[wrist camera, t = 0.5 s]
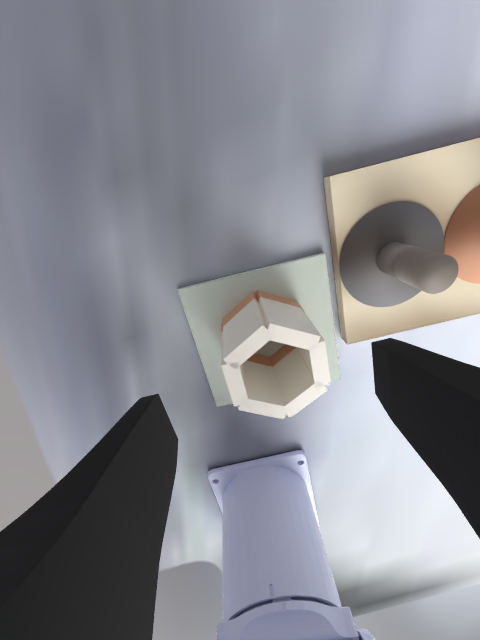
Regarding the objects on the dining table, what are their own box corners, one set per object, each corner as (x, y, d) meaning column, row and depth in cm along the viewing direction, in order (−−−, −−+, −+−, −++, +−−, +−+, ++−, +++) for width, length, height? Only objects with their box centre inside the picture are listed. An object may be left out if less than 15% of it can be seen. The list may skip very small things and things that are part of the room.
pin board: (520, 295, 19) (614, 326, 15) (341, 337, 20) (377, 380, 15) (547, 119, 15) (687, 86, 11) (323, 177, 16) (364, 169, 11)
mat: (338, 375, 21) (340, 378, 21) (217, 403, 21) (216, 407, 21) (323, 252, 17) (325, 253, 17) (178, 288, 18) (177, 290, 17)
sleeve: (321, 328, 19) (353, 370, 14) (257, 380, 20) (268, 434, 16) (271, 273, 17) (289, 301, 13) (205, 334, 19) (199, 379, 14)
